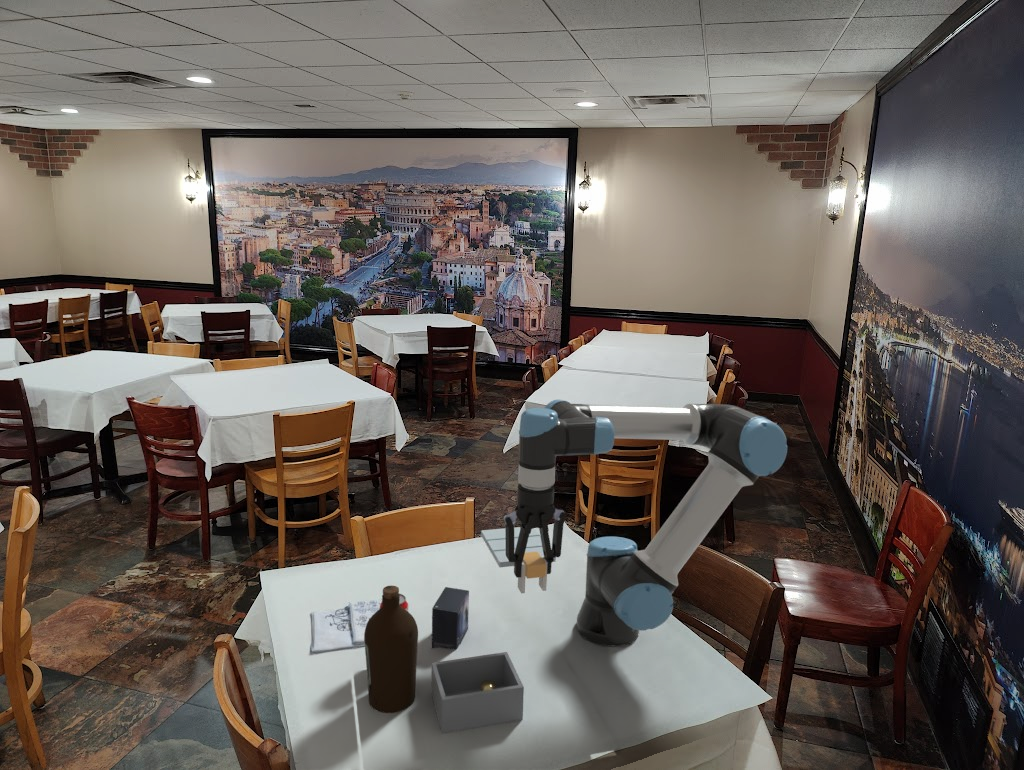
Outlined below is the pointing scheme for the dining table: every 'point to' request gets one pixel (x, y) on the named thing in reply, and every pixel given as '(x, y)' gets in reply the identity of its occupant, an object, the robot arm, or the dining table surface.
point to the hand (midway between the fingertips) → (531, 588)
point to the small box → (450, 618)
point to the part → (488, 685)
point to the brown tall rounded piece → (391, 655)
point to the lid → (532, 555)
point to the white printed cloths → (342, 626)
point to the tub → (476, 692)
